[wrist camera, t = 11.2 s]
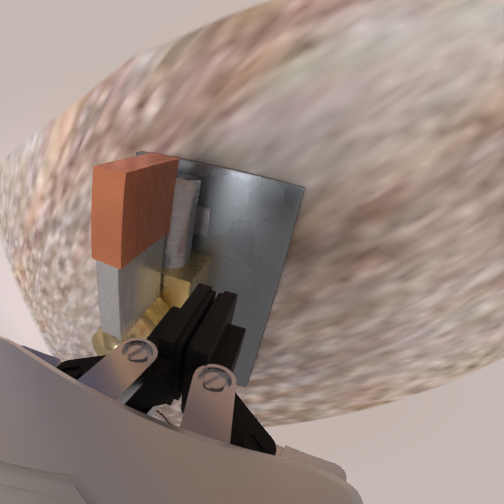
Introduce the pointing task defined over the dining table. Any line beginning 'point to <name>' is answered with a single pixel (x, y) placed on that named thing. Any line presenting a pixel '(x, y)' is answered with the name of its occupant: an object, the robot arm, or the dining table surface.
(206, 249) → the valve
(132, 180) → the lever
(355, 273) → the dining table surface
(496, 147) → the dining table surface
